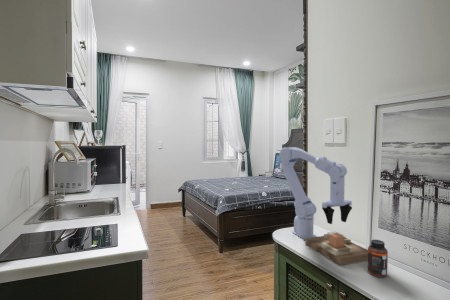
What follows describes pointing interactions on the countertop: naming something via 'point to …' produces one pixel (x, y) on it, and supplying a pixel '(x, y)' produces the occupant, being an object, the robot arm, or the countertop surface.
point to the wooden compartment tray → (355, 256)
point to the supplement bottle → (377, 258)
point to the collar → (338, 251)
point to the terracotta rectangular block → (336, 240)
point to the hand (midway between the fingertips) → (336, 222)
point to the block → (331, 233)
